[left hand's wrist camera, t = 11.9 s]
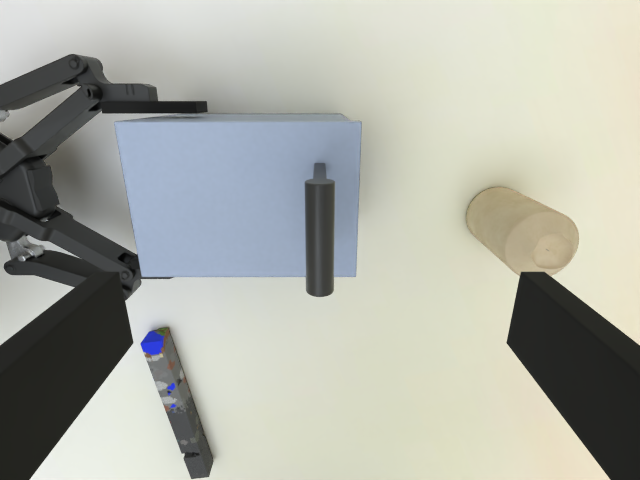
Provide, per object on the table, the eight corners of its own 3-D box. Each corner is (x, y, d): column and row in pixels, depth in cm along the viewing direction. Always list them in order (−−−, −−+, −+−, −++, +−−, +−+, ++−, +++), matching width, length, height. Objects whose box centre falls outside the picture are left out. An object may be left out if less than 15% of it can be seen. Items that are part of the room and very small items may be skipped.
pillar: (191, 478, 46) (139, 340, 40) (196, 462, 48) (148, 329, 42) (208, 477, 46) (159, 338, 39) (213, 460, 48) (167, 326, 41)
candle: (460, 239, 38) (506, 285, 29) (471, 184, 36) (524, 215, 27) (515, 242, 38) (579, 289, 29) (529, 187, 36) (602, 219, 27)
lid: (360, 120, 24) (378, 131, 16) (354, 271, 27) (368, 336, 20) (120, 120, 24) (31, 131, 16) (146, 271, 27) (83, 336, 20)
